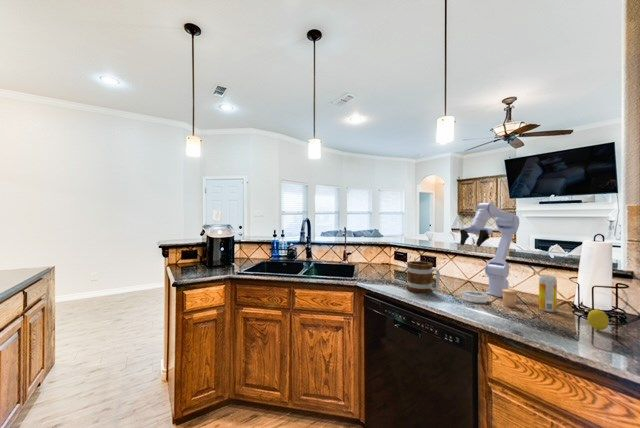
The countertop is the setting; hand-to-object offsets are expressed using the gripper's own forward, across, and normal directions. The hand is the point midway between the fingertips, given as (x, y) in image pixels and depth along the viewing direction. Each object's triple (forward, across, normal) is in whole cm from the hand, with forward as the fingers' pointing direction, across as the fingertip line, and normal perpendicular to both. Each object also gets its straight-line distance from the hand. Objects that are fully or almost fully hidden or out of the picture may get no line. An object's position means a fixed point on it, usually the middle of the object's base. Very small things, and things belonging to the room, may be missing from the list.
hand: (469, 244), depth 134 cm
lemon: (+16, +42, +25) cm, 52 cm away
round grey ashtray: (+16, -2, +24) cm, 29 cm away
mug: (+22, -25, +17) cm, 37 cm away
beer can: (+8, +23, +34) cm, 42 cm away
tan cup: (+13, +11, +28) cm, 33 cm away
